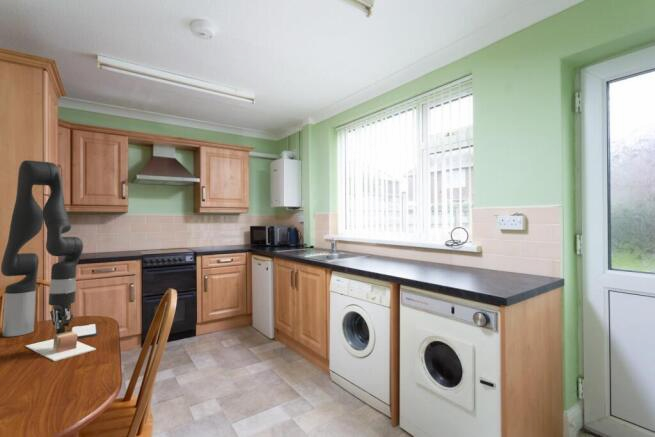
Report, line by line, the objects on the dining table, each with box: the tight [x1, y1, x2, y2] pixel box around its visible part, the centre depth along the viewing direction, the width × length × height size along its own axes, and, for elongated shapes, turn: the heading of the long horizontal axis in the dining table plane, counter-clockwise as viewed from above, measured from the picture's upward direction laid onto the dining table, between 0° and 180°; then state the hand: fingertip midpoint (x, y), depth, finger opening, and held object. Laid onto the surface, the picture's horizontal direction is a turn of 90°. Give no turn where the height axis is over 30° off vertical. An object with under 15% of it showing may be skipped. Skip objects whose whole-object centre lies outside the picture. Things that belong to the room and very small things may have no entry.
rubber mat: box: [25, 338, 97, 362], centre depth 114 cm, size 25×12×1 cm, turn 60°
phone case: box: [70, 323, 98, 340], centre depth 132 cm, size 9×2×16 cm
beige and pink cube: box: [53, 330, 78, 353], centre depth 112 cm, size 5×5×5 cm
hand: (60, 337), depth 114 cm, fingers closed
